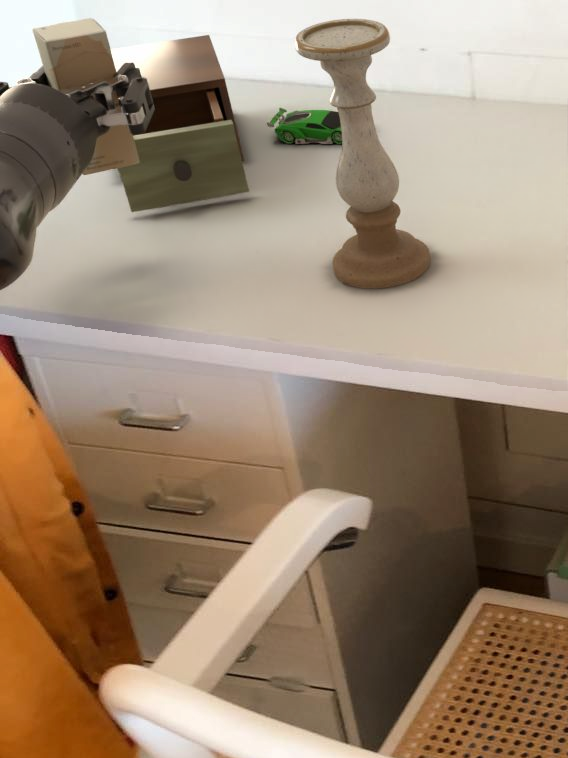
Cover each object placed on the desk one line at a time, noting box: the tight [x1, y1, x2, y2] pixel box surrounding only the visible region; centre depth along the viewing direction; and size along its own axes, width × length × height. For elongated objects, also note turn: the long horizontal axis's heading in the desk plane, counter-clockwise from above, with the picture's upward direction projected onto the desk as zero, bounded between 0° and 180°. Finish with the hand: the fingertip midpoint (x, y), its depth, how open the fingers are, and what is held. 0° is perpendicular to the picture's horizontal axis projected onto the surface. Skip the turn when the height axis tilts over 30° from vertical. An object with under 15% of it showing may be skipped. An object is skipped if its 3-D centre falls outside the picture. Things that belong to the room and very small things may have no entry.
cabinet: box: [110, 34, 245, 182], centre depth 138 cm, size 15×13×9 cm
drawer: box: [117, 88, 250, 213], centre depth 130 cm, size 15×11×7 cm
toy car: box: [266, 107, 342, 145], centre depth 140 cm, size 10×5×2 cm, turn 82°
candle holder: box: [294, 18, 431, 289], centre depth 111 cm, size 9×9×20 cm
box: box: [32, 17, 140, 176], centre depth 109 cm, size 5×4×11 cm
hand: (92, 75), depth 110 cm, fingers closed on box, 6 cm apart
